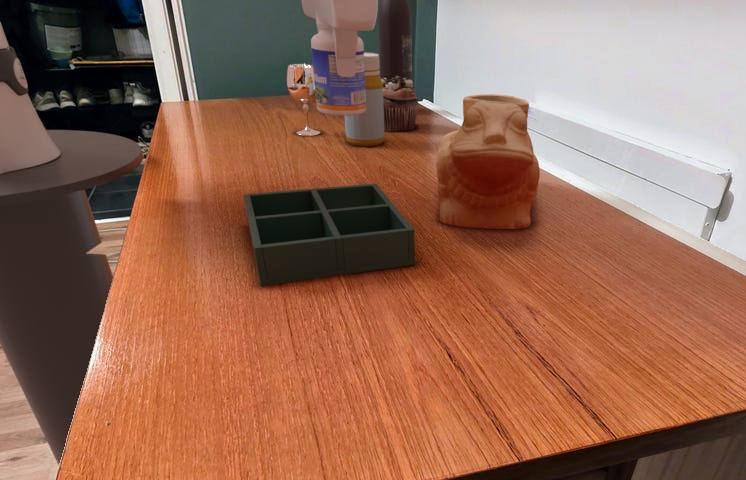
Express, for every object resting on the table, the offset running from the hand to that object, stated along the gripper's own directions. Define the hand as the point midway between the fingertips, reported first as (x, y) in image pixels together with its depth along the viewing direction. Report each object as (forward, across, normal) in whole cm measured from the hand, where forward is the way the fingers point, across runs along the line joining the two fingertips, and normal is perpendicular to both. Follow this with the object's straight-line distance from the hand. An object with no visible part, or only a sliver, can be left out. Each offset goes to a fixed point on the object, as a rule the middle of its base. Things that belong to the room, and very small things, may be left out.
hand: (339, 71), depth 58 cm
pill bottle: (+4, 0, 0) cm, 4 cm away
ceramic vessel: (+18, -2, +19) cm, 26 cm away
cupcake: (+18, -50, +20) cm, 57 cm away
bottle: (+18, -39, +11) cm, 44 cm away
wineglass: (+18, -48, +2) cm, 51 cm away
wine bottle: (+18, -66, +26) cm, 73 cm away
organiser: (+18, +5, -4) cm, 19 cm away
